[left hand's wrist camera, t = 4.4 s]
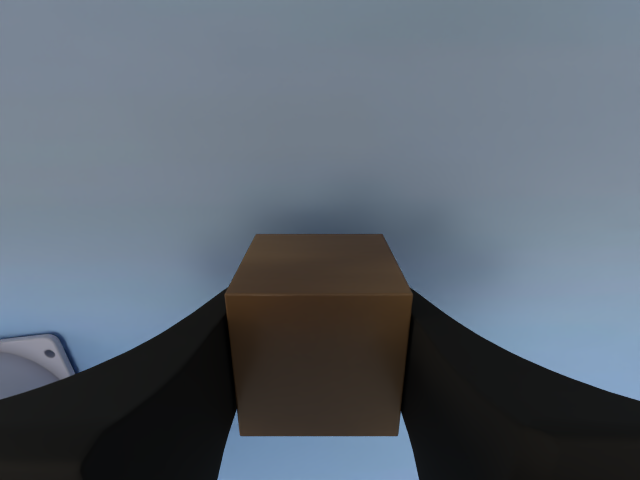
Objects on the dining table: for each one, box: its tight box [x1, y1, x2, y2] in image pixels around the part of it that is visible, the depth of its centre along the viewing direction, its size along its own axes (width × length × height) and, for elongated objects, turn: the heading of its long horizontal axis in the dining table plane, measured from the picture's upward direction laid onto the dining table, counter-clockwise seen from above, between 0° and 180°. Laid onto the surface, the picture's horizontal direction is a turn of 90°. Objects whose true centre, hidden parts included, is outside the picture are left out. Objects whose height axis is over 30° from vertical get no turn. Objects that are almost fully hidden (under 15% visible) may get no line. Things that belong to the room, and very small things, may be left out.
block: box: [225, 234, 413, 436], centre depth 10 cm, size 4×4×4 cm
